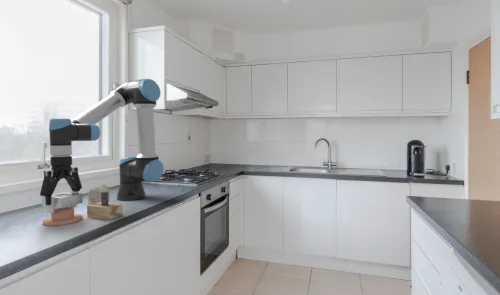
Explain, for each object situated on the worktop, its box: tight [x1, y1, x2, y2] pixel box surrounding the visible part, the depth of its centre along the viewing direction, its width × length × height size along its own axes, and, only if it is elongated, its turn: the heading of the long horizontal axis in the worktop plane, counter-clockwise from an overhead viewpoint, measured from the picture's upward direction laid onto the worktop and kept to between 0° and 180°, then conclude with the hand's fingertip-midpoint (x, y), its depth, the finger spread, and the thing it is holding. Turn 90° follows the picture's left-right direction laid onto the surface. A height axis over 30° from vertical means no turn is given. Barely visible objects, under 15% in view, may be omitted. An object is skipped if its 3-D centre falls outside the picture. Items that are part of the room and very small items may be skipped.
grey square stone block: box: [41, 191, 84, 208], centre depth 122 cm, size 10×10×4 cm
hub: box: [42, 195, 84, 227], centre depth 122 cm, size 14×14×10 cm
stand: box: [86, 192, 123, 221], centre depth 129 cm, size 8×12×10 cm, turn 67°
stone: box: [87, 183, 111, 205], centre depth 143 cm, size 10×5×12 cm, turn 142°
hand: (62, 209), depth 122 cm, fingers closed on grey square stone block, 10 cm apart
